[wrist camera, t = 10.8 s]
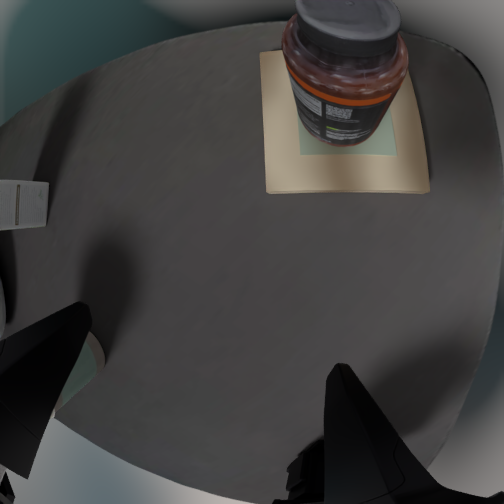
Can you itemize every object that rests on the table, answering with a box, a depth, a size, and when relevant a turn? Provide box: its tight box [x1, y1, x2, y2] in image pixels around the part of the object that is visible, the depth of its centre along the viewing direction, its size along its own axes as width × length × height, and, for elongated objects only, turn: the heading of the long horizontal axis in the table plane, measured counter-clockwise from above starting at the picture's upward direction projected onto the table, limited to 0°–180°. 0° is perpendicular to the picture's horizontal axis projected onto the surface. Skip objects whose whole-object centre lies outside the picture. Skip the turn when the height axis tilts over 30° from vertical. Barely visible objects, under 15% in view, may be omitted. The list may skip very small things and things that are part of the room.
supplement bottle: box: [282, 0, 409, 147], centre depth 11 cm, size 6×6×11 cm
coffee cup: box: [50, 331, 105, 419], centre depth 21 cm, size 8×8×12 cm
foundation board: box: [260, 50, 430, 194], centre depth 17 cm, size 12×12×2 cm
